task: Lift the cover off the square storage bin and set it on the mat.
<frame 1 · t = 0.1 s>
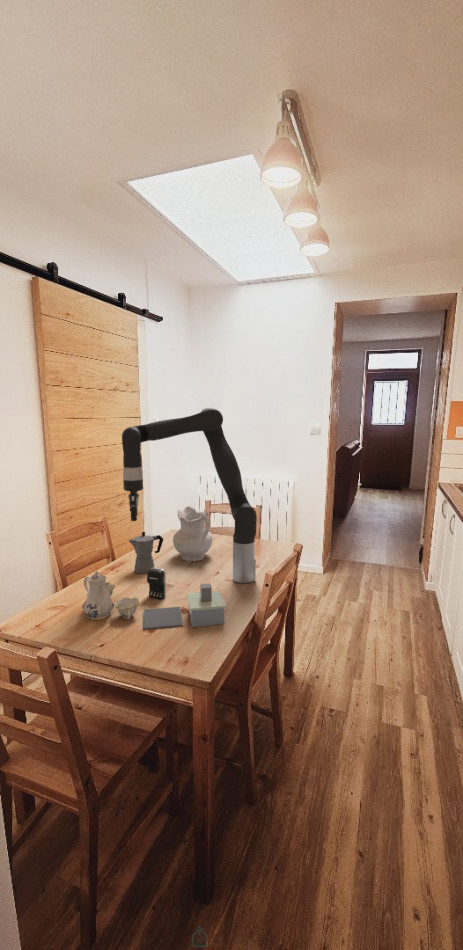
hand: (134, 518, 165), 29 cm above the table, tool pointing down, fingers open, 8 cm apart
coffeepot: (147, 570, 188), on the table
black boxy piece: (156, 597, 161), on the table
plum: (206, 609, 145), point 3 cm above the table, touching square storage bin
ceramic pitcher: (194, 557, 204), on the table
chinaware: (106, 611, 150), on the table
cover: (206, 601, 145), point 6 cm above the table, touching square storage bin
mat: (162, 618, 145), on the table
square storage bin: (206, 617, 146), on the table
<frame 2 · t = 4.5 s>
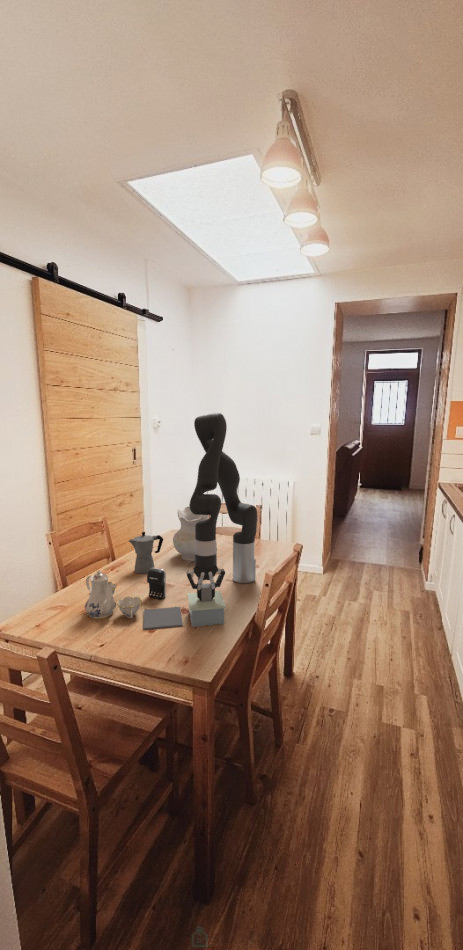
hand: (205, 598, 145), 7 cm above the table, tool pointing down, fingers closed on cover, 3 cm apart
cover: (206, 601, 145), point 6 cm above the table, touching square storage bin, gripper
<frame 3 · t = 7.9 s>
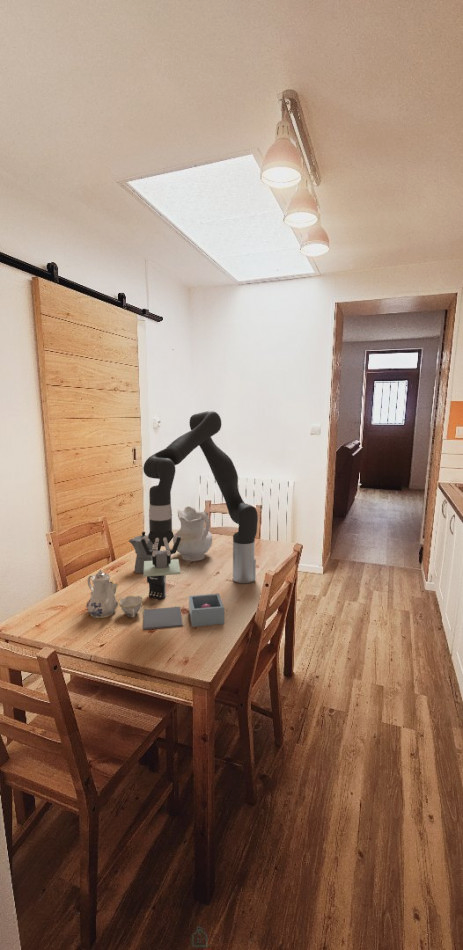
hand: (161, 565, 142), 20 cm above the table, tool pointing down, fingers closed on cover, 3 cm apart
cover: (161, 568, 142), point 18 cm above the table, touching gripper
when the fingers open (4 cm above the table, at t = 11.3 s): cover drops 2 cm, resting on mat.
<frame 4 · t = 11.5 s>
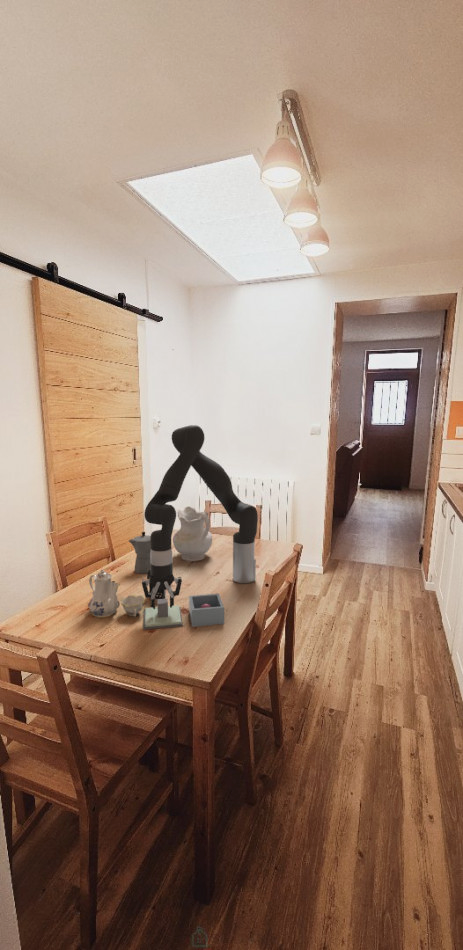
hand: (162, 607, 144), 4 cm above the table, tool pointing down, fingers open, 5 cm apart
cover: (162, 616, 145), point 1 cm above the table, touching mat
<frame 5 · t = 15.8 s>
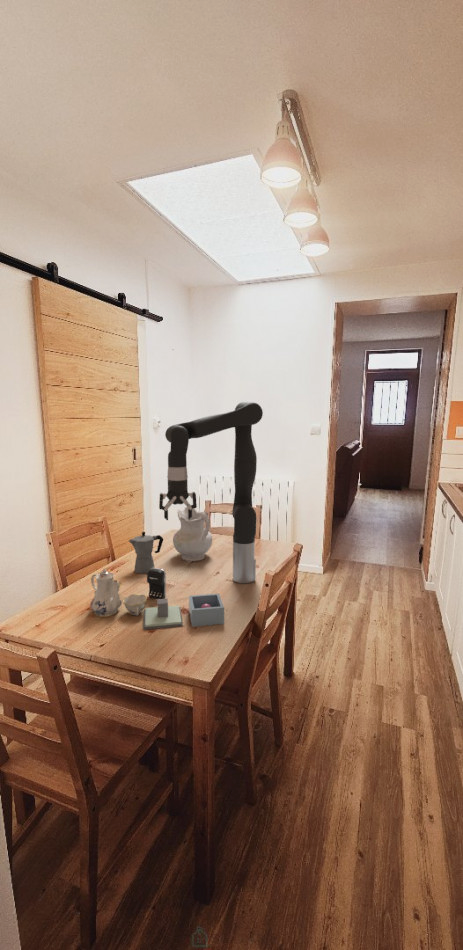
hand: (178, 519, 161), 30 cm above the table, tool pointing down, fingers open, 8 cm apart
at the end: cover inside the target area on the mat (0.1 cm from its centre), point 0.6 cm above the mat's base; cover tilted 0°; the gripper is holding nothing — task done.
